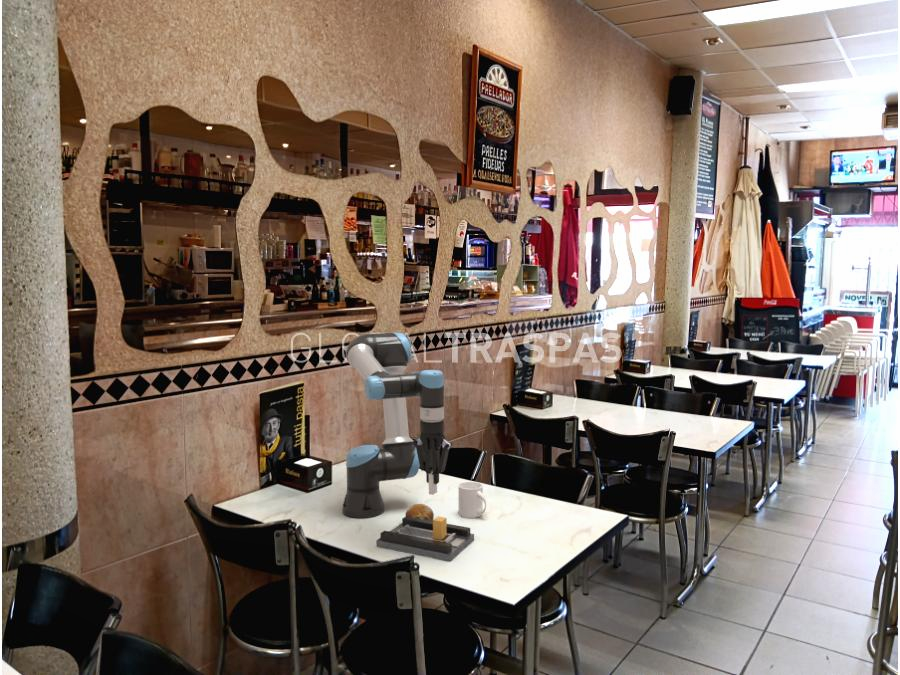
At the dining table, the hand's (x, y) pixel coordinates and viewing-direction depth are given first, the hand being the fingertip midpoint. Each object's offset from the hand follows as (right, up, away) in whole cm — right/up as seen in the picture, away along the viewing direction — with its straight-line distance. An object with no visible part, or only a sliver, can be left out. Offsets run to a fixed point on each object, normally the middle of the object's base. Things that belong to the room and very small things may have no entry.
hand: (432, 493), depth 221 cm
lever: (+2, -15, +1) cm, 15 cm away
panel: (-2, -17, +4) cm, 17 cm away
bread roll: (-5, -15, +22) cm, 27 cm away
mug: (+14, -14, +28) cm, 34 cm away
